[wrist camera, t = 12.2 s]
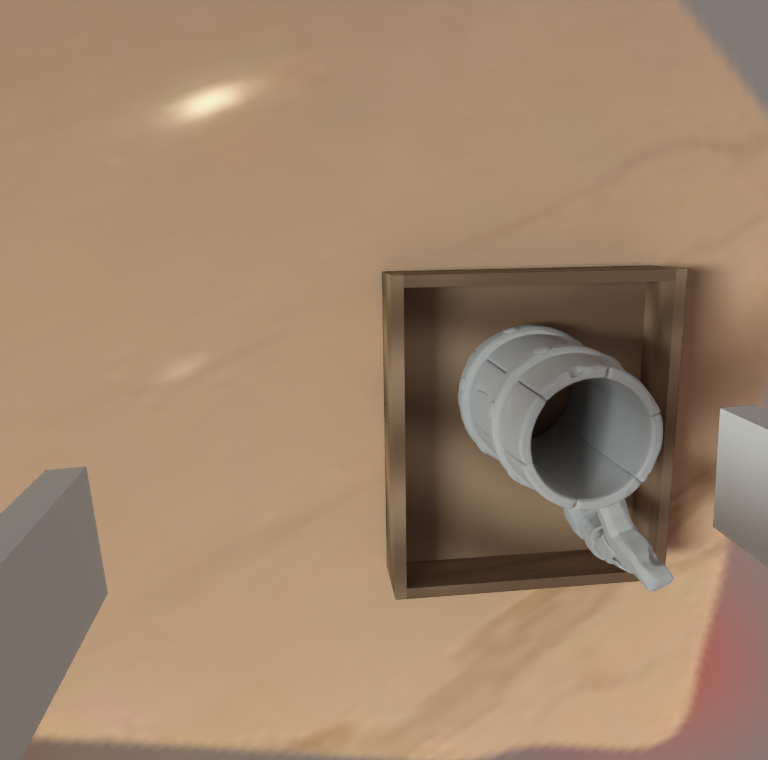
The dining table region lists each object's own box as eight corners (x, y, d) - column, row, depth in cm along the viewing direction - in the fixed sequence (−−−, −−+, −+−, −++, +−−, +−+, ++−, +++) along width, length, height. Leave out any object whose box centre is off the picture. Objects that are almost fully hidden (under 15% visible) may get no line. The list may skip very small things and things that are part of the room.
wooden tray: (382, 271, 37) (391, 275, 33) (650, 265, 38) (687, 268, 35) (387, 566, 40) (395, 599, 37) (632, 549, 42) (664, 579, 38)
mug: (558, 297, 37) (675, 325, 26) (625, 482, 40) (758, 583, 28) (431, 354, 37) (490, 409, 25) (507, 536, 40) (592, 660, 28)
